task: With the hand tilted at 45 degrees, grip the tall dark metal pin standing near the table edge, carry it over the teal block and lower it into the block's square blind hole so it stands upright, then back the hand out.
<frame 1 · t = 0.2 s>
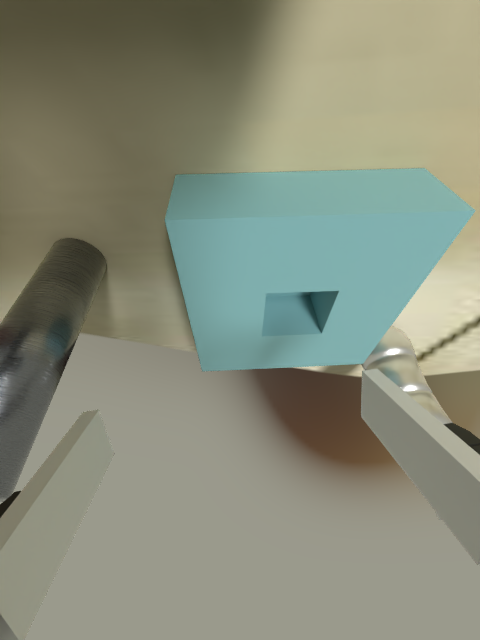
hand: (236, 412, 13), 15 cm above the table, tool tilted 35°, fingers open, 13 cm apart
plastic bottle: (375, 332, 36), on the table
pin: (80, 259, 24), on the table
socket block: (285, 269, 26), on the table
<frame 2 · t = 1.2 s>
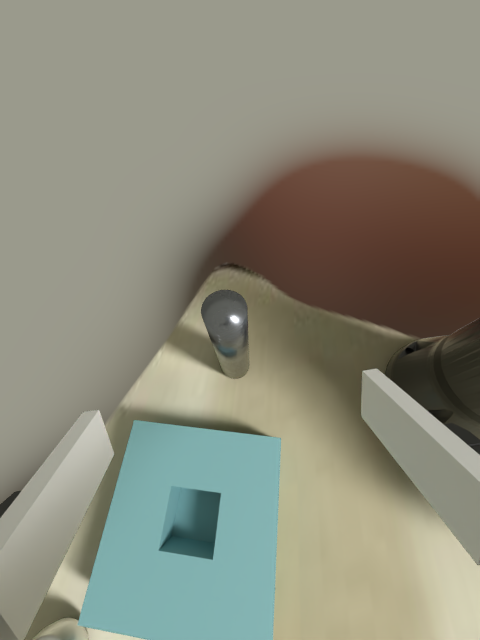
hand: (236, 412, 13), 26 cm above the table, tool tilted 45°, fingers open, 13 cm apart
pin: (235, 364, 41), on the table
socket block: (201, 509, 33), on the table
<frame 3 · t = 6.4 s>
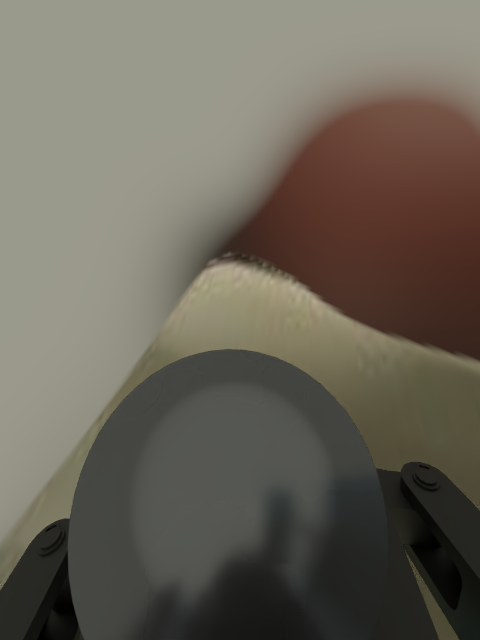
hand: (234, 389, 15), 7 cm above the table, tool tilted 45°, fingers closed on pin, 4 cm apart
pin: (245, 459, 20), on the table, touching gripper
when the fingers open (10 cm above the table, at t = 13.2 s): pin drops 1 cm, resting on socket block.
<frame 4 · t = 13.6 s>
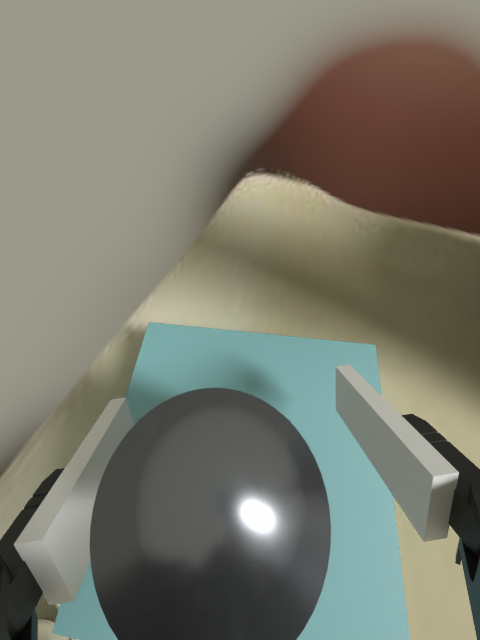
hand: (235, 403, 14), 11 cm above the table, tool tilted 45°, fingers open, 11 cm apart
pin: (245, 459, 21), point 1 cm above the table, touching socket block
socket block: (246, 458, 22), on the table
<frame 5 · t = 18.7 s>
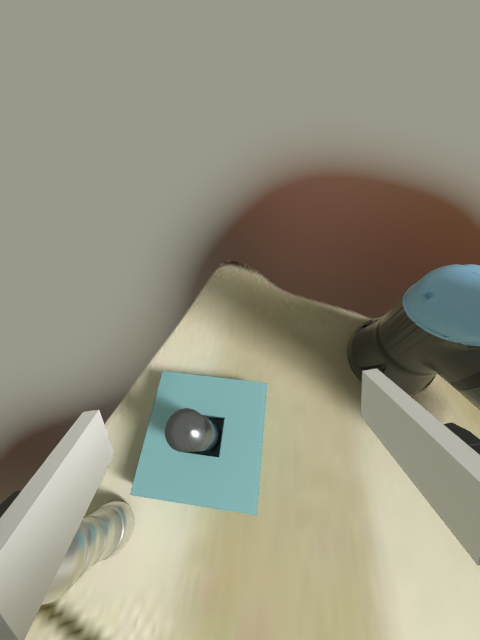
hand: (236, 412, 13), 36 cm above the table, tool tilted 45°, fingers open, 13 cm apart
plastic bottle: (118, 524, 40), on the table
pin: (208, 436, 44), point 1 cm above the table, touching socket block
socket block: (209, 436, 45), on the table
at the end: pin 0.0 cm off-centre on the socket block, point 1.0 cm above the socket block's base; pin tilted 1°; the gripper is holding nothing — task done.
